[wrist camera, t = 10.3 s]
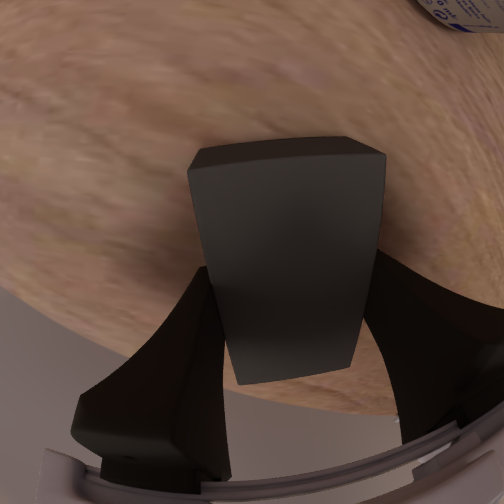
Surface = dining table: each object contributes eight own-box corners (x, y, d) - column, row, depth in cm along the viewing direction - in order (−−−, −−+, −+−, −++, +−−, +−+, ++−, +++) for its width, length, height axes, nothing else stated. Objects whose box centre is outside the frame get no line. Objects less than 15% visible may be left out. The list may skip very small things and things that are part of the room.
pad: (334, 325, 15) (350, 367, 12) (235, 339, 14) (238, 386, 12) (347, 136, 9) (387, 154, 7) (198, 148, 9) (185, 170, 7)
